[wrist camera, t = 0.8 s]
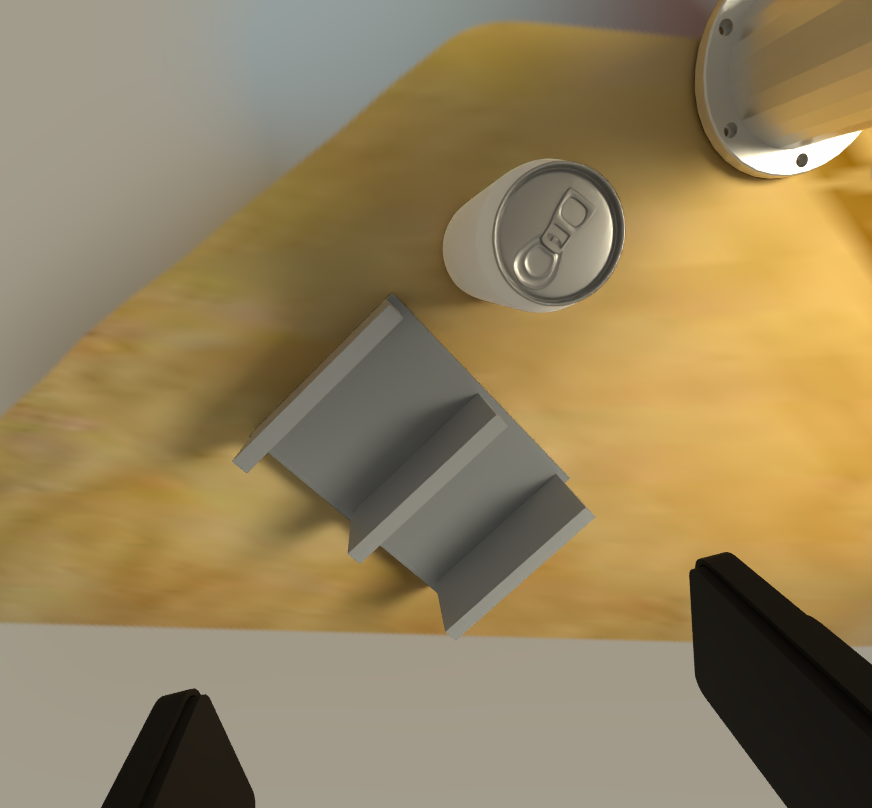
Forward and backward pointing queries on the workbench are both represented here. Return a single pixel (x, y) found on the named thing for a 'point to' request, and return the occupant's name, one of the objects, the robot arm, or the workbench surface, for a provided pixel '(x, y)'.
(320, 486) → the rack
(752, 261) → the workbench surface
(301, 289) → the workbench surface
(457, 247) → the can
